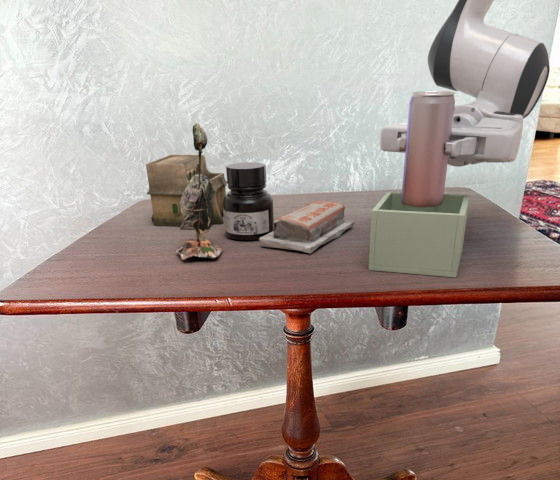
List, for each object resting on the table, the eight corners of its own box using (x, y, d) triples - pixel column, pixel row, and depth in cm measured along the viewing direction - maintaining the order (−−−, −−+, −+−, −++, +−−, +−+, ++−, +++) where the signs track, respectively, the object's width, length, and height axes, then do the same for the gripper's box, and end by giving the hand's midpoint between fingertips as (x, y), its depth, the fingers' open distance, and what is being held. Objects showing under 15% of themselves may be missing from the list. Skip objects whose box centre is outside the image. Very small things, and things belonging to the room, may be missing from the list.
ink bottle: (216, 240, 97) (209, 169, 91) (233, 227, 104) (228, 160, 98) (268, 243, 94) (265, 170, 88) (281, 229, 102) (279, 161, 96)
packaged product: (307, 196, 103) (355, 201, 99) (307, 222, 105) (354, 227, 101) (257, 219, 90) (310, 225, 85) (258, 247, 92) (310, 255, 88)
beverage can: (393, 204, 82) (402, 92, 74) (428, 200, 83) (440, 90, 76) (413, 213, 77) (425, 94, 69) (450, 208, 78) (465, 92, 71)
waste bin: (462, 251, 87) (470, 195, 83) (456, 277, 77) (464, 215, 72) (383, 245, 91) (387, 191, 87) (368, 270, 81) (371, 210, 76)
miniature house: (141, 228, 106) (131, 166, 100) (170, 210, 117) (163, 154, 112) (213, 230, 102) (207, 166, 96) (236, 212, 114) (232, 154, 108)
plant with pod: (229, 242, 95) (220, 117, 85) (217, 263, 85) (205, 125, 75) (184, 243, 96) (169, 118, 86) (167, 263, 86) (148, 126, 76)
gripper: (404, 110, 88) (361, 119, 79) (535, 115, 77) (502, 125, 68) (401, 152, 92) (359, 165, 82) (526, 161, 81) (493, 178, 71)
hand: (425, 147), depth 75 cm, fingers closed on beverage can, 6 cm apart
